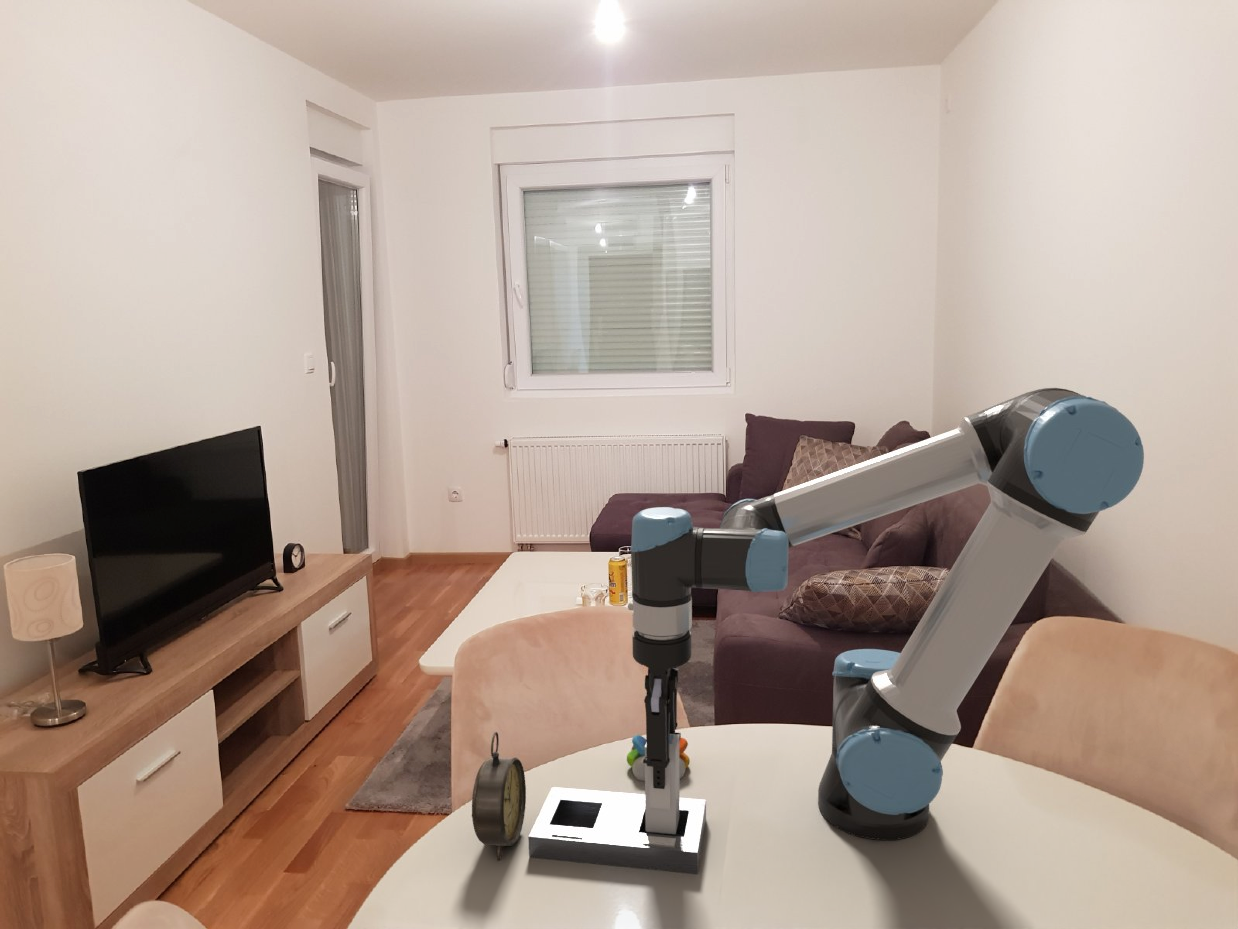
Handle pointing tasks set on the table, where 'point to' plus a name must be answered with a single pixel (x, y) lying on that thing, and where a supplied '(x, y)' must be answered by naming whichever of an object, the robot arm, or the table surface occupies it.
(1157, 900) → the table surface
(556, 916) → the table surface
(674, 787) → the plug
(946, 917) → the table surface
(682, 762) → the rainbow petal toy
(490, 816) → the alarm clock
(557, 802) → the panel
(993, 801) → the table surface
